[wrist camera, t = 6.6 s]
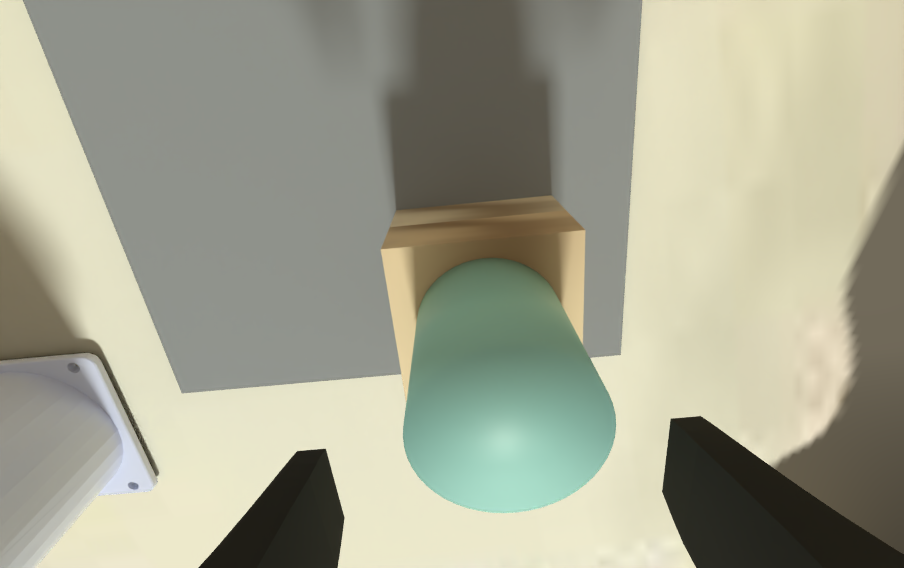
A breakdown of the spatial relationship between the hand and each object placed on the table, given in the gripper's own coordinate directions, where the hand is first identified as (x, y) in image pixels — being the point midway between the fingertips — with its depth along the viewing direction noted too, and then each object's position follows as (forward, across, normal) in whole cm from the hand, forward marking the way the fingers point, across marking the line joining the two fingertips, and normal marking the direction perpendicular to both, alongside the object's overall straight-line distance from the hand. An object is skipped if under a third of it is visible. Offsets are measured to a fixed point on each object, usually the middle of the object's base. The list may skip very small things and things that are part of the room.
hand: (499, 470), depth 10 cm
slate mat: (+10, +4, -4) cm, 12 cm away
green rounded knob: (+6, 0, 0) cm, 6 cm away
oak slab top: (+8, 0, 0) cm, 8 cm away
